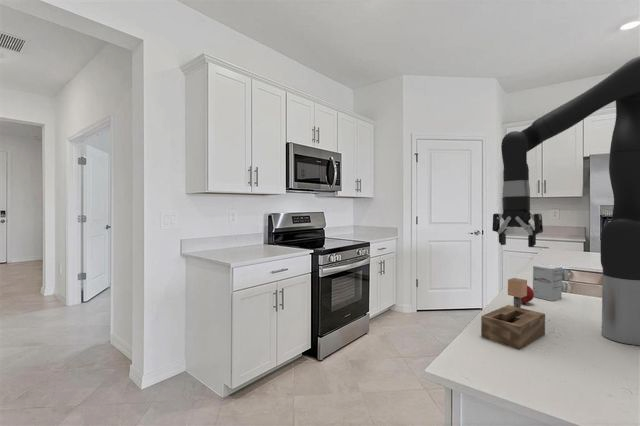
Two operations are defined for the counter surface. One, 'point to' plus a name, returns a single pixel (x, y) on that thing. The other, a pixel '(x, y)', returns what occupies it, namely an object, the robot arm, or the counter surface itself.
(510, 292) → the brown square-topped part
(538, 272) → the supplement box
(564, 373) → the counter surface
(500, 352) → the counter surface
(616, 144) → the robot arm
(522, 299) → the onion
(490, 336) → the keyhole block
